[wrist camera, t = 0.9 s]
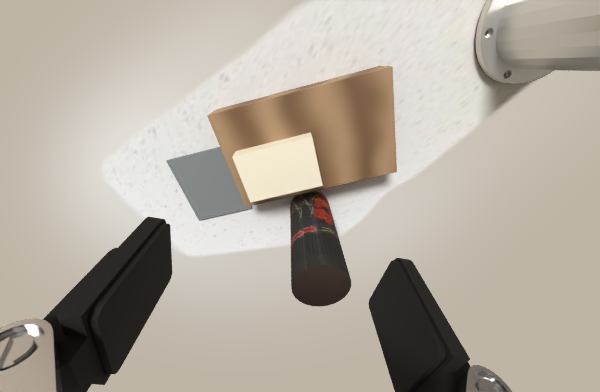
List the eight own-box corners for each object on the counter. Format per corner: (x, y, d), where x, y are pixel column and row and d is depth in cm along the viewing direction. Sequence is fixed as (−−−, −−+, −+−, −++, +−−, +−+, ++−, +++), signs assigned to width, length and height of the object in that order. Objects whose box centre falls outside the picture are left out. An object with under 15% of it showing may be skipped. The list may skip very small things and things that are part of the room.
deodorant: (283, 201, 36) (280, 280, 23) (317, 183, 35) (335, 256, 22) (302, 228, 39) (309, 313, 26) (335, 212, 37) (360, 292, 24)
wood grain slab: (379, 66, 28) (392, 66, 24) (385, 160, 33) (396, 171, 30) (217, 109, 29) (207, 115, 26) (249, 192, 35) (245, 206, 31)
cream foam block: (310, 132, 27) (312, 137, 25) (320, 178, 30) (322, 185, 28) (235, 151, 28) (232, 157, 26) (252, 194, 31) (250, 202, 29)
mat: (227, 145, 31) (226, 145, 31) (252, 207, 36) (251, 208, 36) (167, 160, 32) (166, 161, 32) (199, 219, 37) (199, 220, 37)
